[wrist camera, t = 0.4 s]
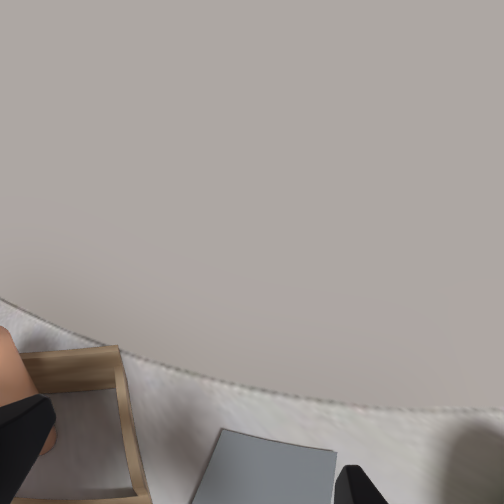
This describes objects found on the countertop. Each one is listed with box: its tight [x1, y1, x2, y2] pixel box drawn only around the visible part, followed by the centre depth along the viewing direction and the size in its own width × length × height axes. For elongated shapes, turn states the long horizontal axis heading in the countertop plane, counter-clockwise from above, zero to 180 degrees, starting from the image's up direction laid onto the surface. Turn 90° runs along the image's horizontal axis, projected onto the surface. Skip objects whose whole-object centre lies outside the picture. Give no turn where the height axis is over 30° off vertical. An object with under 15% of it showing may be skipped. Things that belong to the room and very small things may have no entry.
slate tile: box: [192, 429, 337, 504], centre depth 19 cm, size 10×10×1 cm
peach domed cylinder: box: [0, 326, 57, 455], centre depth 17 cm, size 5×5×11 cm
